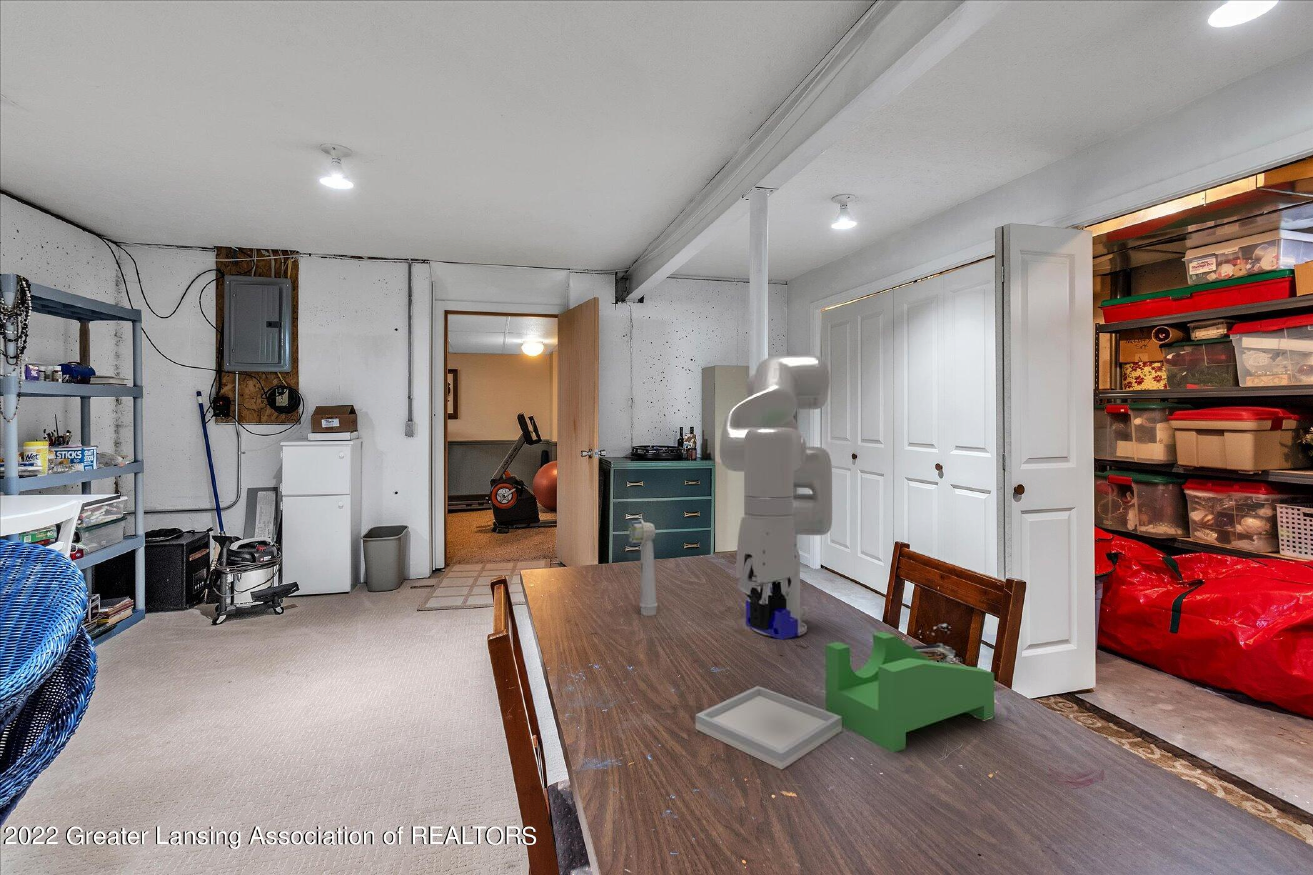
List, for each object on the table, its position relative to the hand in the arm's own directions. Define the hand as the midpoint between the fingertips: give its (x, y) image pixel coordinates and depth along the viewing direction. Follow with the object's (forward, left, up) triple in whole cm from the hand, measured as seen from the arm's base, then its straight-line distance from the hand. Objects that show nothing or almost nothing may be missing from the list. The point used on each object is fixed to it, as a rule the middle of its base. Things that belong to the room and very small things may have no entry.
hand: (768, 623), depth 94 cm
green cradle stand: (-21, +13, -17) cm, 30 cm away
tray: (0, 0, -16) cm, 16 cm away
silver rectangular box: (-42, +6, -17) cm, 45 cm away
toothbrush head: (-25, -56, -17) cm, 63 cm away
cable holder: (0, 0, -1) cm, 1 cm away
